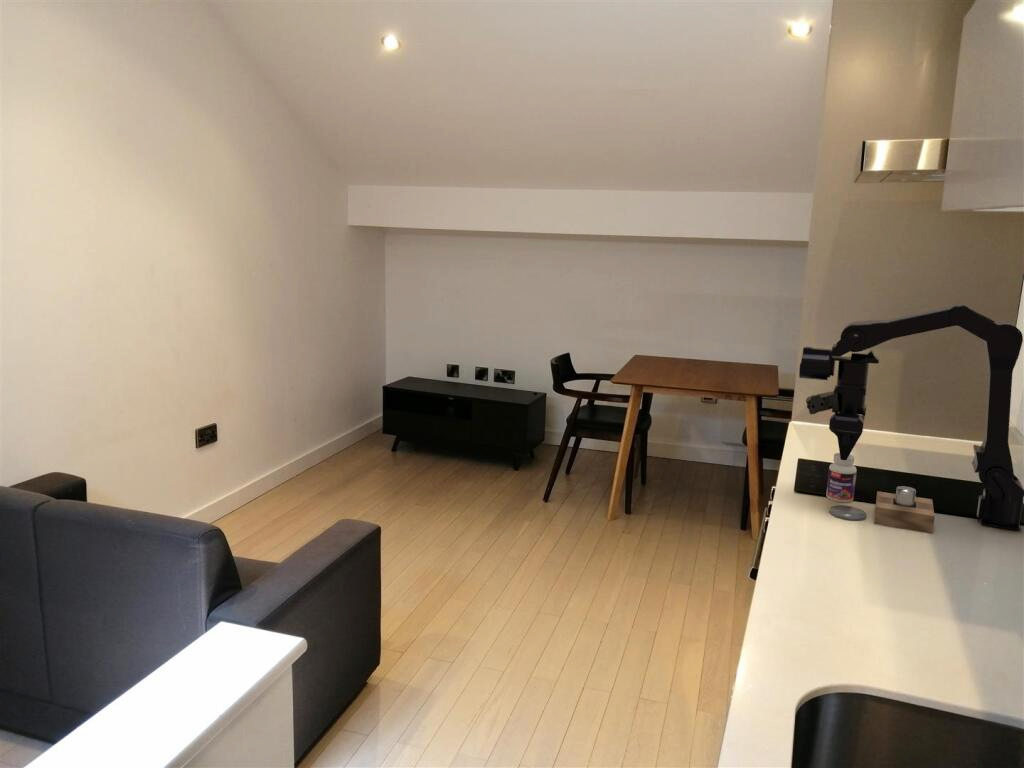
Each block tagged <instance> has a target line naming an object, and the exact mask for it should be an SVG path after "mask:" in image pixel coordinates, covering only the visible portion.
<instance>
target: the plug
mask: <svg viewBox="0 0 1024 768" xmlns="http://www.w3.org/2000/svg"><path fill="white" fill-rule="evenodd" d="M916 493H917V490H916V488H913V487H911V486H905V485H902V486H901V485H900V486H896V491H895V494H896V498H895V505H899V506H906V507H912V508H914V503H915V497H916Z"/></svg>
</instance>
